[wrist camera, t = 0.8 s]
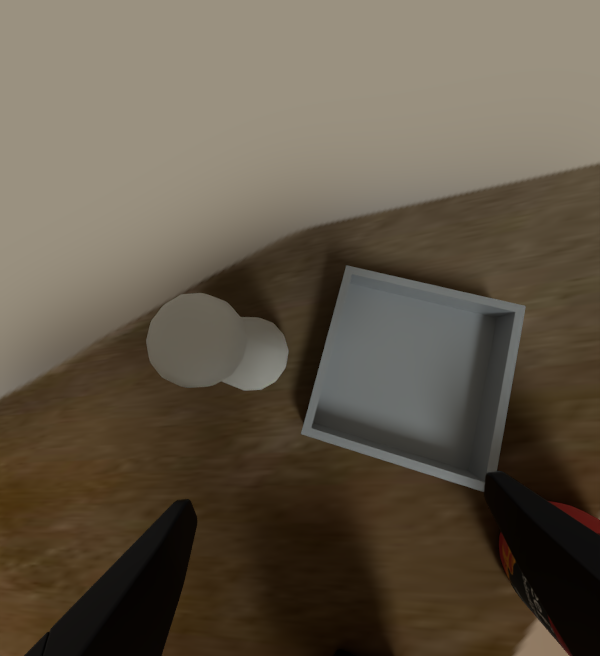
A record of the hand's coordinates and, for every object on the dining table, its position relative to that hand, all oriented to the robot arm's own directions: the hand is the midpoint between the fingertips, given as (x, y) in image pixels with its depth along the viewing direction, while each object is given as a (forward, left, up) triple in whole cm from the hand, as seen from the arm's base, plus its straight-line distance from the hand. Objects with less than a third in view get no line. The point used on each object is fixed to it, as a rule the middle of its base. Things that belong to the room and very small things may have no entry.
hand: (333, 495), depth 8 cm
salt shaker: (+3, +7, -15) cm, 17 cm away
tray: (+5, -5, -15) cm, 16 cm away
